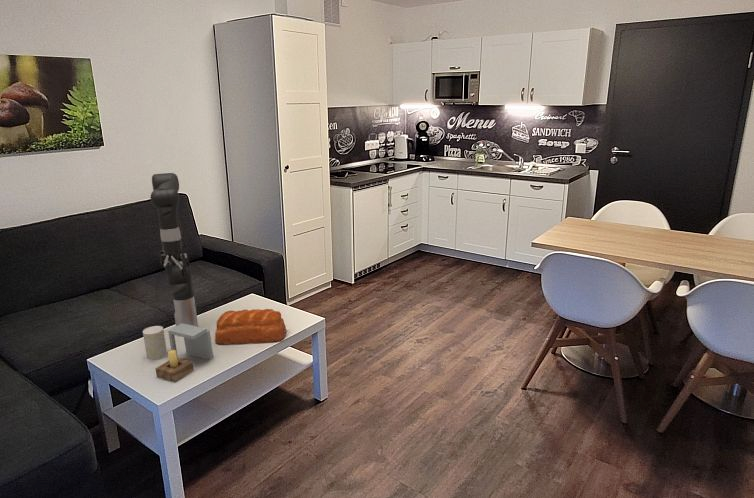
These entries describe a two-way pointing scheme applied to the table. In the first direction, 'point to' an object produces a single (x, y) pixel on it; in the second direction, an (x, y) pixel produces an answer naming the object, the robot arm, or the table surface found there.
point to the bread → (250, 327)
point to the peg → (173, 359)
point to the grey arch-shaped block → (192, 340)
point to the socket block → (174, 370)
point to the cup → (155, 342)
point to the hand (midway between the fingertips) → (176, 276)
